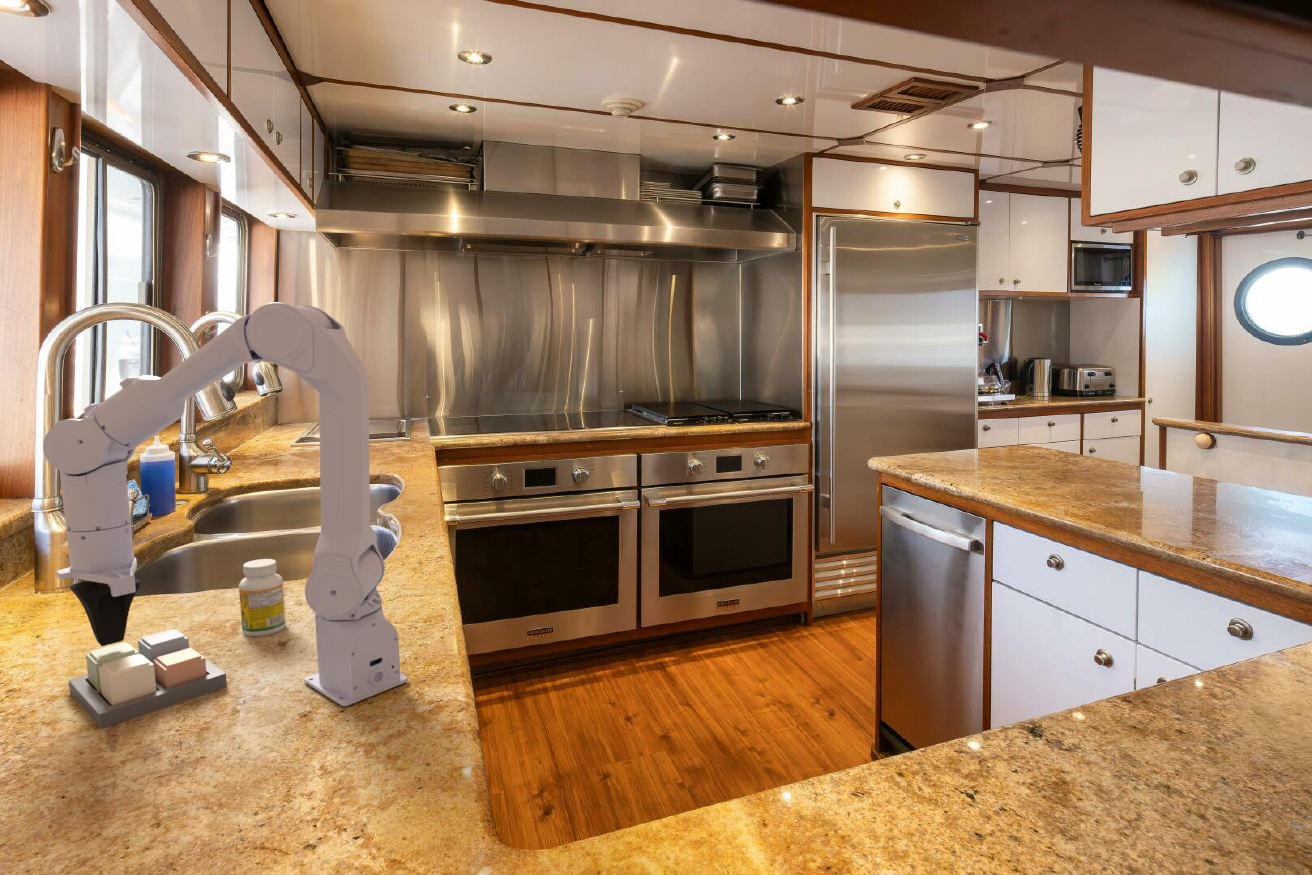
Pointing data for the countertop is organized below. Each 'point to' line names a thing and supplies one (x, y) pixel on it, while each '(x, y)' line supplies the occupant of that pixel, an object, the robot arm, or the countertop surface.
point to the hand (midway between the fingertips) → (110, 641)
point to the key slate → (162, 644)
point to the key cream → (127, 679)
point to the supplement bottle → (262, 598)
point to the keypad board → (142, 697)
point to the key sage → (106, 659)
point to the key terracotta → (179, 667)
